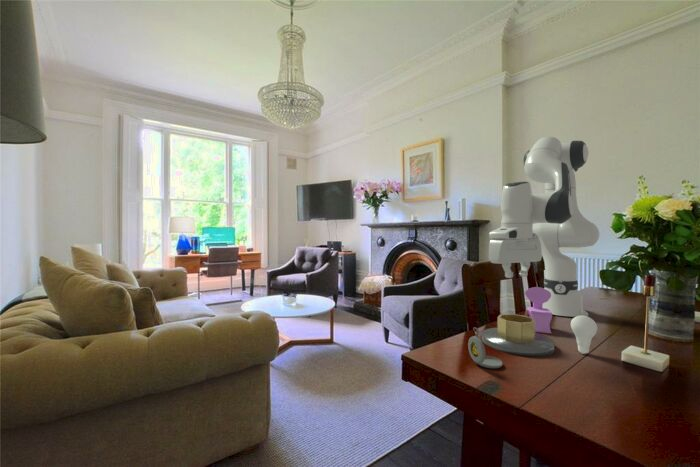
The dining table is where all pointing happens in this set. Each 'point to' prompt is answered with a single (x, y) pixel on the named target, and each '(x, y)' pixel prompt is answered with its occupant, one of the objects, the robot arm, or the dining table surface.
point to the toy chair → (539, 308)
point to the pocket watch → (481, 353)
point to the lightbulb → (583, 332)
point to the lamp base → (517, 337)
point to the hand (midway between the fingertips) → (516, 276)
